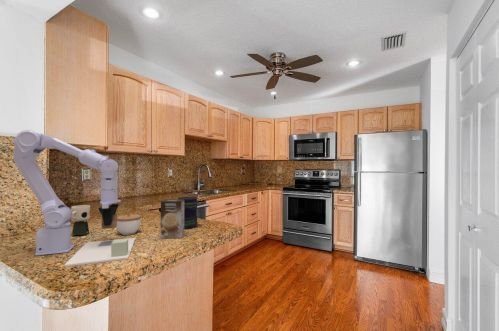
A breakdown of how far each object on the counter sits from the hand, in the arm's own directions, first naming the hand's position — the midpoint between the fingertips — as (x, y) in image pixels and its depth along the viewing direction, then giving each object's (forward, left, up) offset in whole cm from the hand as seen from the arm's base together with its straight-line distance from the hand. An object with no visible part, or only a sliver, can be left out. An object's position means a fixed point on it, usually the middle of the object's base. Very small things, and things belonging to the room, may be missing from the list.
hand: (109, 224), depth 93 cm
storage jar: (+32, +18, -8) cm, 38 cm away
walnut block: (0, 0, -1) cm, 1 cm away
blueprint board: (0, -8, -8) cm, 11 cm away
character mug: (-15, +21, -8) cm, 27 cm away
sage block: (+6, -15, -8) cm, 18 cm away
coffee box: (+24, +3, -8) cm, 26 cm away
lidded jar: (+5, +16, -8) cm, 19 cm away
